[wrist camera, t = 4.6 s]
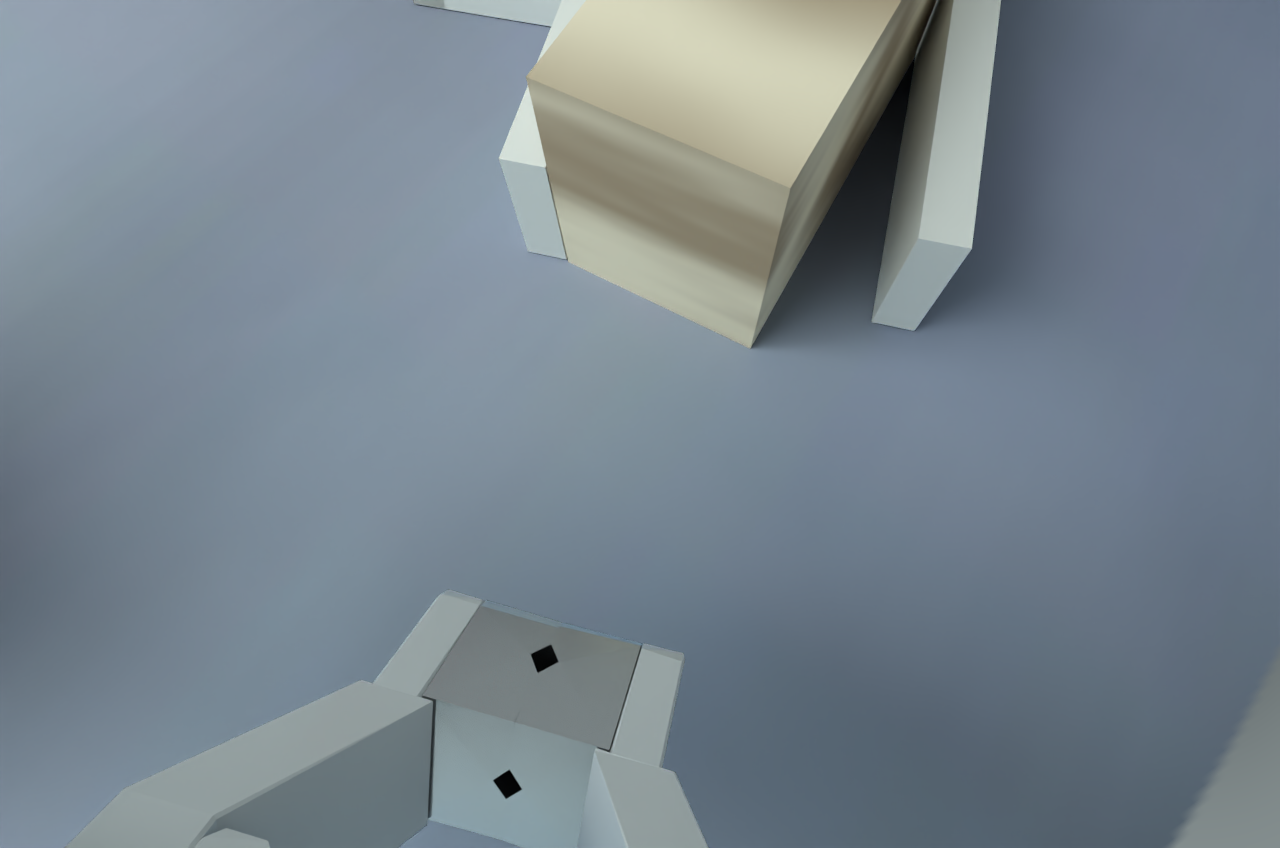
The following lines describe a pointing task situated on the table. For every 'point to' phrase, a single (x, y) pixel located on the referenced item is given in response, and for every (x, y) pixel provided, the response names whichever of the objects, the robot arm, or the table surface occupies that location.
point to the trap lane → (926, 172)
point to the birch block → (712, 139)
